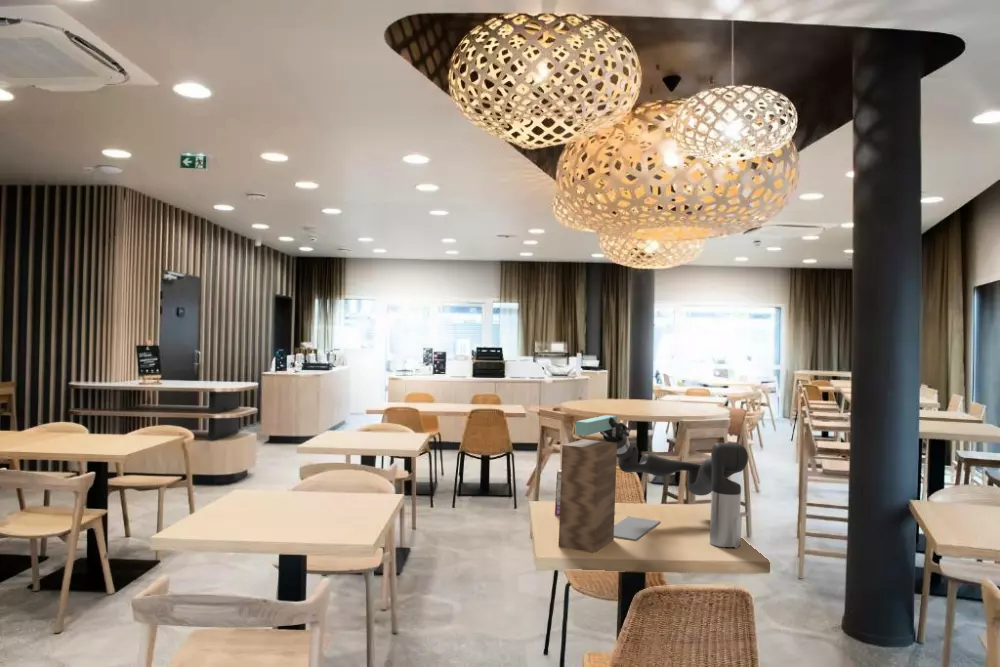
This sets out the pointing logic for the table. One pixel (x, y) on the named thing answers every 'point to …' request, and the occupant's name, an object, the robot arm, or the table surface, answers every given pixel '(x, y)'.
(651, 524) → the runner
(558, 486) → the candy bar box
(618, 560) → the table surface
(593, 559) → the table surface
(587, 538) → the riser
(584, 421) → the teal bar
